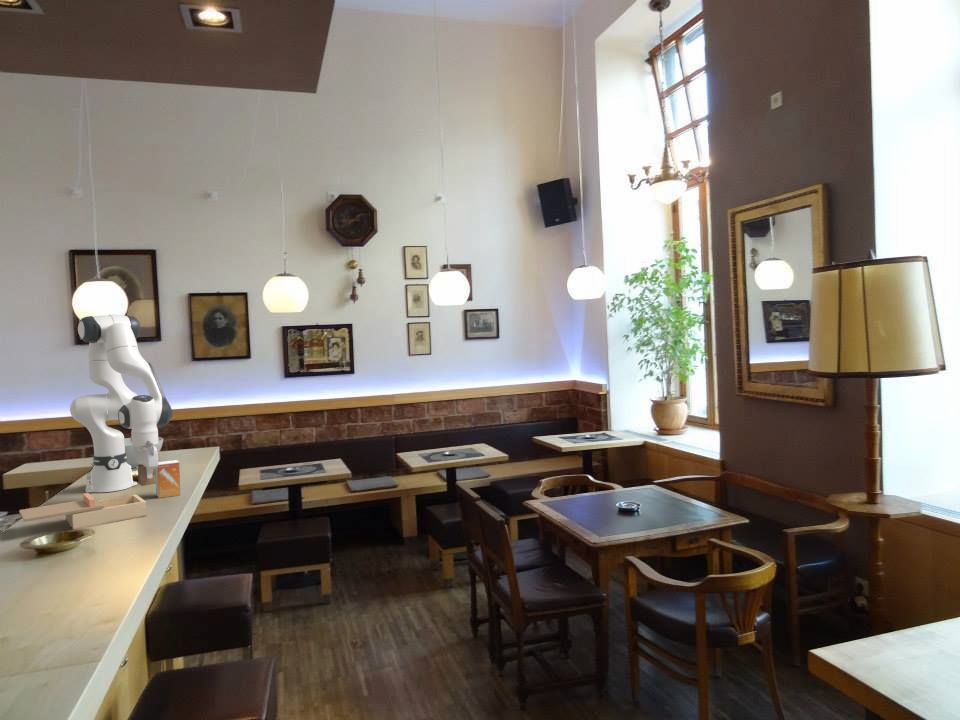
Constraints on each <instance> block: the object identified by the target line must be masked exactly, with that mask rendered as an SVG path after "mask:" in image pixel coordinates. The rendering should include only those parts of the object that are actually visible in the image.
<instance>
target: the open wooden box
mask: <svg viewBox="0 0 960 720" xmlns="http://www.w3.org/2000/svg"><path fill="white" fill-rule="evenodd" d="M97 500H98V501H99V502H100V503H101V504H102V505H103V506H104V508H102V509H96V510H90V511H84V512H79V513H73V514H67V515H65V521H66V522H67V524H68V525H69V526H70V527H71V528H72V530H73V529H75V530H79V529H84V528H90V527H95V526H101V525H106V524H110V523H117V522H121V521H122V522H123V521H127V520H132V519H133V520H134V519H138V518H144V517H147V516H148V512H147V501H146V499H145V500H144V499H143V498H142V497H140V496H139V495H138V494H136V493H135V494H129V495H128V494H127V495H123V496H118V497H117V496H116V497H111V498H105V499H104V498H103V499H97Z"/></svg>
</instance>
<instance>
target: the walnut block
mask: <svg viewBox="0 0 960 720" xmlns="http://www.w3.org/2000/svg"><path fill="white" fill-rule="evenodd" d="M146 473H147V469H146V467H145V466H143V465H142V464H140V465H138V468H137V475H138V476H137V477H138V480H137V481H138V482H137V483H138V484H139V485H140V486H141V487H143V486H145V487H146V486H151V485H156V484H157V480H156V468H153V473H152V476H153V477H152V478H149V479H148V478H147V477H146Z"/></svg>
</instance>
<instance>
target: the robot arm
mask: <svg viewBox="0 0 960 720" xmlns="http://www.w3.org/2000/svg"><path fill="white" fill-rule="evenodd" d="M77 333H78V335H79V336H78V337H79V339H80V340H82V341H83V342H84V343H88V371H89V379H90V380H91V382H92V383H93V384H96V385H98V386H101V387H104V388H106V389H107V390H108V392H107V393H100V394H87V395H83V396H79V397H75V398H74V399H73V400H72V402H71V403H70V407H69V411H70V415H71V417H72V418H73V419H74V420H75V421H76V422H78V423H80V424H81V425H82V426H84V427H85V428H86V429H87V431H88V432H89V434H90V436H91V439H92V445H93V456H92V457H93V458H92V462H93V463H92V464H93V468H91V470H90V473H87V474H86V478H87V480H89V481H88V483H86V485H85V486H86V487H85V493H89V494H90V493H108V492H109V493H110V492H117V491H122V490H126V489H130V488H132V487H133V486H137V485H138V482H137V481H134V480H133V471H132V470H133V469H131V466H130V465H129V464H127V462H126V461H127V455H126V452H125V443H124V439H125V436H124V433H123V432H122V431H120V430H119V429H116V428H112V427H109V425H107V424H106V422H107V421H118V423H119V425H121V427H123V428H124V429H129V430H130V429H131V433H130V434H131V436H130V438H131V443H132V446H133V452H134V458H135V460H136V461H137V462H139V463H140V464H142V465H143V466H145V467H146V469H147V473H146V477H147V478H148V479H149V478H152V477H153V476H152V473H153V468H157V467H158V464H159V463H158V462H159V456H158V454H159V453H157V448H156V447H155V444H158V443H159V441H158V437H159V429H158V427H165V426H166V425H167V424H169V422H170V421H171V420H172V418H173V409H172V407H171V405H170V403H169V400H168V399H167V398H166V395H165V392H164V390H163V387H162V386H161V383H160V381H159V378H158V377H157V374H156V371H155V369H154V367H153V365H152V364H151V362H148V361H146V360H145V359H144V357H142V354H141V353H140V351H139V346H138V342H137V338H139V337H140V334H141V324H140V321H139V319H138V318H137V317H136V316H133V315H128V314H126V315H124V314H123V315H122V314H108V315H107V314H106V315H96V316H95V315H94V316H92V315H89V316H84V317H82V318H80V320H79V322H78V325H77ZM122 375H125V376H127V377H133V378H134V379H135V378H136V379H138V380H139V381H142V382H143V383H144V385H145V387H146V389H147V393H148V394H147V395H146V394H139V395H138V394H137V393H136V392H135V391H133V390H131V389H130V388H129V387H128V386H127V385H126V383H125V381H124V379H123V377H122Z"/></svg>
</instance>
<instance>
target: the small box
mask: <svg viewBox="0 0 960 720" xmlns="http://www.w3.org/2000/svg"><path fill="white" fill-rule="evenodd" d="M158 463H159V464H158V467H157V468H156V480H157V484H155V494H156V496H158V497H157V498H158V499H161V498H167V497H168V498H170V497H175V496H181V495H182V490H181V489H182V488H181V487H182V486H181V467H180V466H181V464H180V461H179V460H178V459H174V460H165V461H158ZM169 496H170V497H169Z"/></svg>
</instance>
